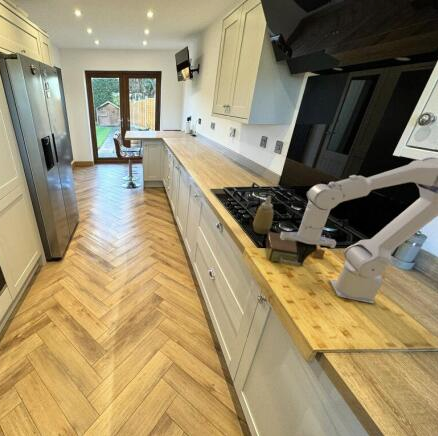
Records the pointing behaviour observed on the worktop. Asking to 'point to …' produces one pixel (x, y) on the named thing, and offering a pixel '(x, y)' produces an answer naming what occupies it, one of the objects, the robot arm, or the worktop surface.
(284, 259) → the drawer
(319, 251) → the small brown jar
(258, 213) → the squeeze bottle
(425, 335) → the worktop surface
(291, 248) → the cabinet
